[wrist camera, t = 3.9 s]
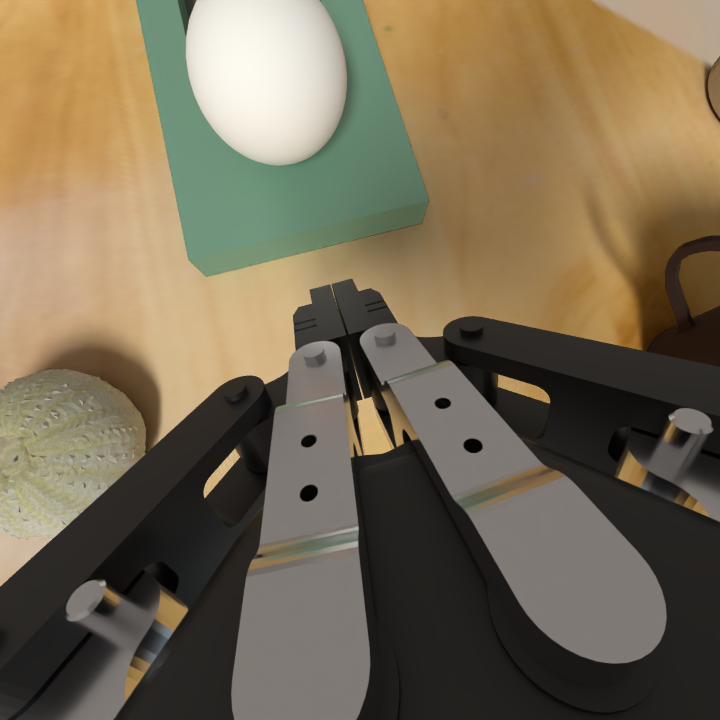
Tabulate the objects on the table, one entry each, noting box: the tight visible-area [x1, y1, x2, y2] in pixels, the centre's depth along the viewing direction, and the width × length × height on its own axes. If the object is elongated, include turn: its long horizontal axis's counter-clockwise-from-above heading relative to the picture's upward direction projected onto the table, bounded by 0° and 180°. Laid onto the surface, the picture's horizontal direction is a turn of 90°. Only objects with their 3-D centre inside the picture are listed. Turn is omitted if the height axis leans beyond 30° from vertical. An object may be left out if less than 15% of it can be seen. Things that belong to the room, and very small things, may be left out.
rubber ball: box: [186, 0, 347, 166], centre depth 18 cm, size 8×8×8 cm
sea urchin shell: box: [0, 368, 146, 539], centre depth 20 cm, size 9×8×8 cm
